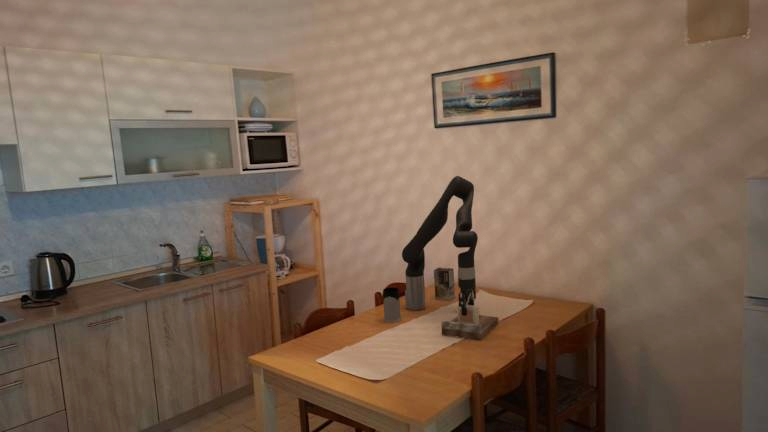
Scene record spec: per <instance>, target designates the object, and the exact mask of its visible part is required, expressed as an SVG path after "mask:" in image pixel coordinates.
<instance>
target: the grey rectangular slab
mask: <svg viewBox="0 0 768 432" xmlns="http://www.w3.org/2000/svg"><path fill="white" fill-rule="evenodd" d="M498 325H499V317H498V316H490V315H484V314H483V315H482V314H479V324H478V325H473V324H465V323H458V315H457V316H455V317H454V318H453V319H451V320H450V321H448V320H441V335H442V334H444V335H443V336H448V335H451V336H450V337H455V336H458V337H457V338H462V337H464V338H463V339H469V340H477V341H482V340H483V339H485V337H486V336H487V335H489V333H490V332H492V331H493V330H494V329H495V328H496V326H498Z"/></svg>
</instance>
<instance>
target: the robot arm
mask: <svg viewBox="0 0 768 432" xmlns="http://www.w3.org/2000/svg"><path fill="white" fill-rule="evenodd" d="M474 195H475V186H474V184H473V183H472V181H469V180H467V179H466V178H463V177H461V176H460V175H456V176H454V177H453V178H452V179H451V180H450V181H449V183H448V185H447V186H446V188H445V190H444V191H443V193H442V195H441V197H440V198H439V200H438V201H437V203H436V204H435V205H434V207H433V208H432V210H431V211H430V212H429V213H428V215H427V217H426V218H425V219H424V221H423V222H422V223H421V225H420V227H419V228H418V230H417V231H416V233H415V234H414V236H413V237H412V239H411V240H410V241H409V242H408V243H407V244H406V246H405V247H403V249H402V252H401V257H402V260H403V262H404V263H407V266H406V268H405V271H404V272H405V290H404V298H405V309H408V310H410V311H421V310H425V308H426V292H425V291H426V289H425V275H424V274H425V267H426V261H425V258H426V257H425V249H424V248H425V247H426V246H427V245H428V244H429V243H430V242H431V241H432V240H433V239H434V238H435V237H436V236H437V235H438V234H439V233H440V232H441V231H442V230H443V228H444V227H445V225H446V224H447V222H448V217H449V204H450V201H451V199H453V197H456V198H458V199H460V200H462V205H461V206H460V208H458V209H457V211H456V215H455V222H456V223H455V231H454V232H453V235H452V236H453V237H452V243H453V246H454V247H455V248H460V249H461V248H468V249H467V250H466V251H462V252H460V253H458V254H457V285H458V286H457V287H458V288H459V289H460V288H461V289H462V293H460V292H459V293H458V306H459V307H461V312H462V315H463V316H466V315H467V303H468V302H469V305H474V306H475V301H476V299H477V292H476V290H477V289H476V287H477V285H476V280H477V279H476V269H475V268H476V267H475V255H476V254H475V253H476V247H477V246H478V240H479V238H478V234H477V233H476V231H474V230H472V229H473V217H472V209H473V203H474Z"/></svg>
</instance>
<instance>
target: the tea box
mask: <svg viewBox="0 0 768 432" xmlns="http://www.w3.org/2000/svg"><path fill="white" fill-rule="evenodd" d="M479 309H480V308H479V305H475V304H474V305H467V315H466V316H463V315H462V312H461V307H459V305H458V306H457V310H458V312H457V316H458V323H465V324H473V325H478V324H479V315H480V310H479Z"/></svg>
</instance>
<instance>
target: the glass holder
mask: <svg viewBox="0 0 768 432" xmlns="http://www.w3.org/2000/svg"><path fill="white" fill-rule="evenodd" d="M382 292H383V294H382V295H383V298H382V299H383V300H382V301H383V314H384V316H383V322H385V323H387V324H394V323H400V322H401V321H402V320H403V318H402V316H401V301H400V300H401V299H400V289H399V288H398V287H386V288H383V290H382Z"/></svg>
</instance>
